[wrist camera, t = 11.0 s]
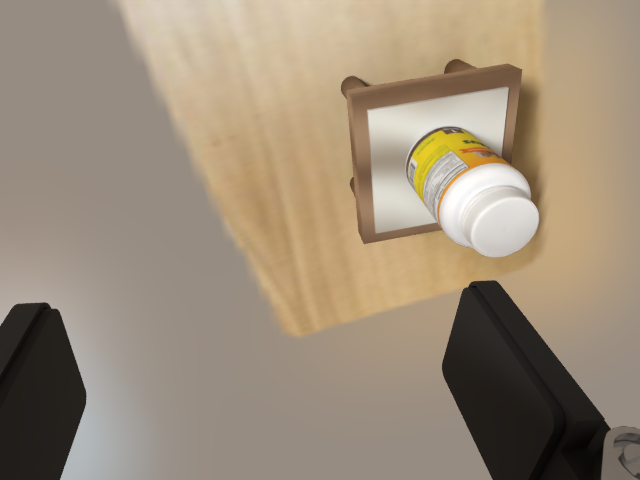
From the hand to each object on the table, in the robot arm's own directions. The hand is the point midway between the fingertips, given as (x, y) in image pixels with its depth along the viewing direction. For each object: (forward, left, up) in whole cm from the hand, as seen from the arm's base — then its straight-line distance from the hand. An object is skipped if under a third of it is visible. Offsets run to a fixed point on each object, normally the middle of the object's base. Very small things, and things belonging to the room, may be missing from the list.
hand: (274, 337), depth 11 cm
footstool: (+5, +14, -30) cm, 34 cm away
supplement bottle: (+4, +14, -22) cm, 26 cm away
